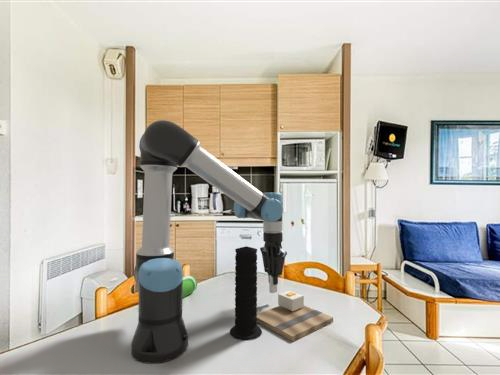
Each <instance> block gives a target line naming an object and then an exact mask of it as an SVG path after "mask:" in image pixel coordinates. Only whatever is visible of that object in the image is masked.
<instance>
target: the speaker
mask: <svg viewBox="0 0 500 375" xmlns="http://www.w3.org/2000/svg"><path fill="white" fill-rule="evenodd" d="M197 287H198V281H197V279H196V277H194V276H193V275H187V276H183V287H182V299H183V298H186V297H187V296H189V295H190V294H192V293H194V291H196V290H197Z"/></svg>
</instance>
